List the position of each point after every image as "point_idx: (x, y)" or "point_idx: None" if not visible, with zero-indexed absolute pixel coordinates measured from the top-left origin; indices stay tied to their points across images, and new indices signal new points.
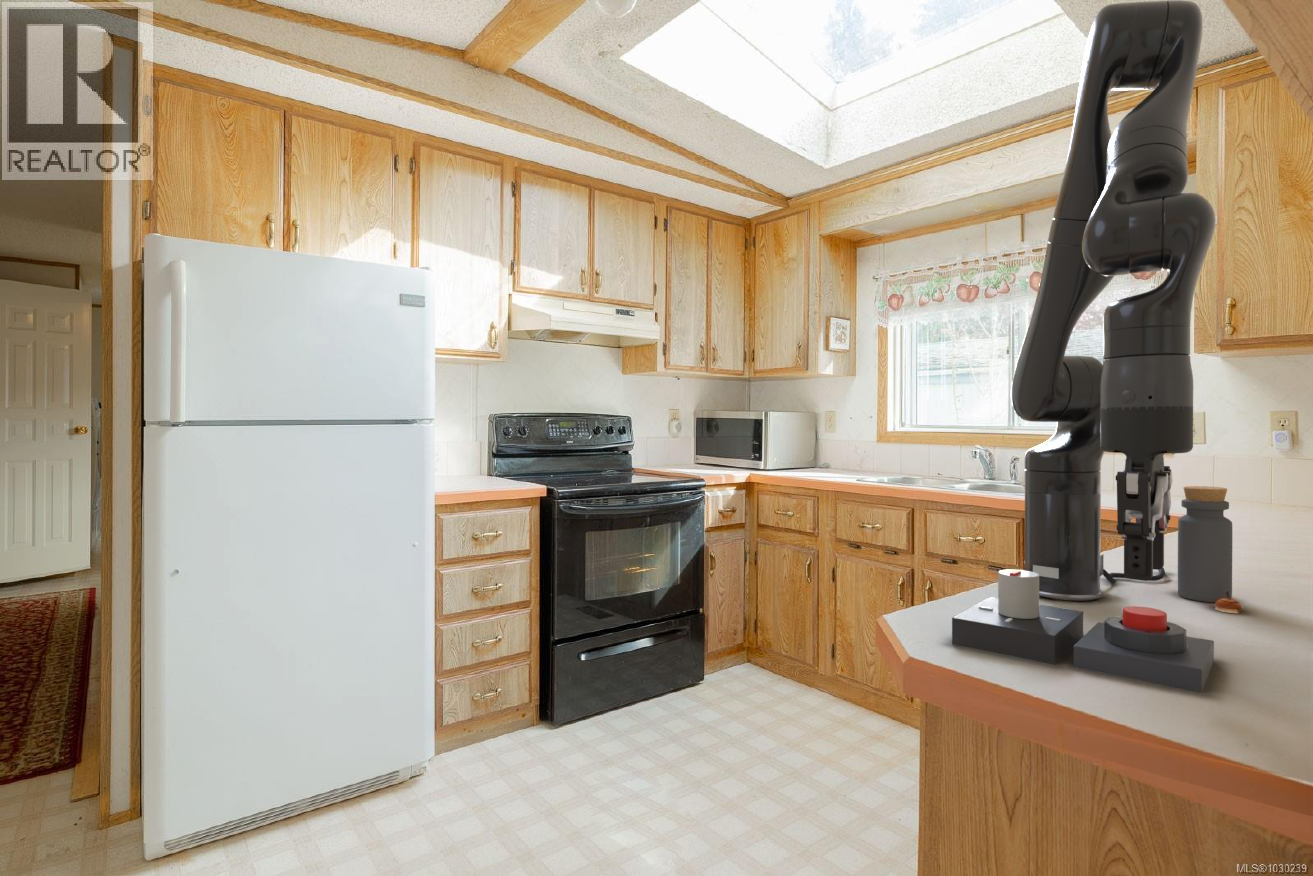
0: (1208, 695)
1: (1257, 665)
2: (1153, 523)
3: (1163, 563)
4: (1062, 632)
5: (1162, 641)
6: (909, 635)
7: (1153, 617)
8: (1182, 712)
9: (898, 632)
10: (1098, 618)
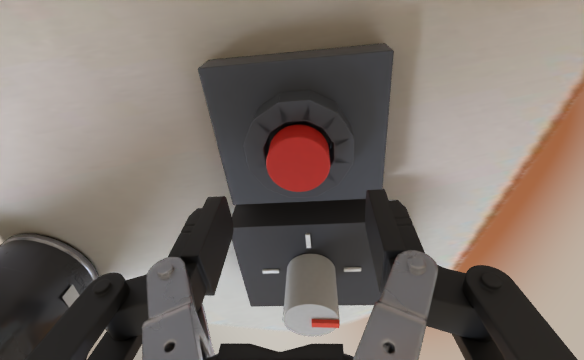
0: (383, 34)
1: (163, 3)
2: (417, 296)
3: (213, 201)
4: (348, 220)
5: (343, 118)
6: (367, 307)
7: (325, 148)
8: (484, 46)
9: (364, 314)
10: (124, 212)
